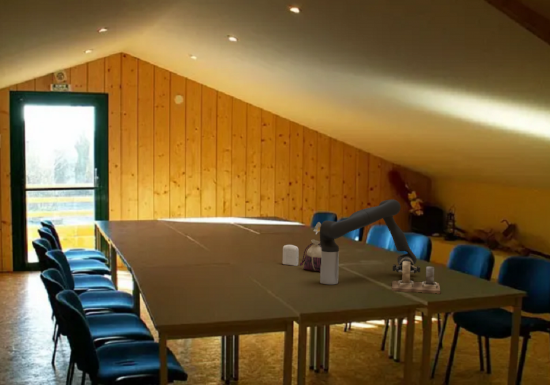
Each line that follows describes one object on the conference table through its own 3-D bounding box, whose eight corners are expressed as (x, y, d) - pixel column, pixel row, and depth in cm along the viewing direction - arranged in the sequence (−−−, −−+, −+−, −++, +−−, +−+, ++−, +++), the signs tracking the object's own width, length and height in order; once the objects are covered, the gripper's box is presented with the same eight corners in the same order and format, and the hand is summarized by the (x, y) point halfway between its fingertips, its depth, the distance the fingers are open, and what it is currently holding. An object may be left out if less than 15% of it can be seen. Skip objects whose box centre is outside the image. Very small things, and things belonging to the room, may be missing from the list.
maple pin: (401, 285, 319) (402, 262, 318) (401, 283, 323) (402, 261, 322) (409, 285, 319) (410, 262, 318) (409, 284, 322) (410, 261, 322)
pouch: (294, 269, 367) (294, 237, 365) (302, 267, 373) (302, 236, 372) (329, 275, 351) (330, 241, 350) (337, 272, 358) (338, 240, 356)
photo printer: (299, 265, 380) (299, 245, 379) (296, 266, 376) (296, 246, 375) (284, 263, 385) (285, 243, 384) (281, 264, 381) (281, 244, 380)
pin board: (391, 290, 314) (392, 268, 313) (392, 283, 331) (393, 262, 330) (440, 293, 309) (441, 271, 308) (438, 286, 326) (439, 264, 325)
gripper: (393, 257, 336) (392, 263, 320) (420, 259, 333) (420, 264, 317) (393, 271, 337) (392, 277, 321) (419, 272, 334) (420, 278, 318)
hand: (406, 271), depth 319 cm, fingers open, 8 cm apart
